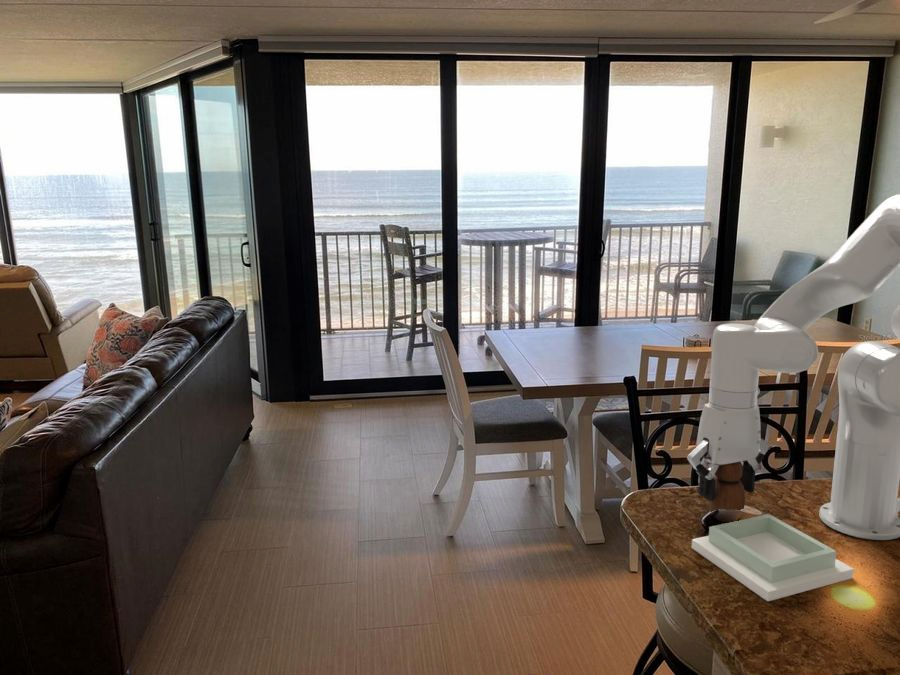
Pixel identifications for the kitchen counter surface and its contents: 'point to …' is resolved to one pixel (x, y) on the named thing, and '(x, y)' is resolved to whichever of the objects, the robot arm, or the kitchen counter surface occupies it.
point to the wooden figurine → (728, 488)
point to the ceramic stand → (771, 557)
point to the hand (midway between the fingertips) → (726, 493)
